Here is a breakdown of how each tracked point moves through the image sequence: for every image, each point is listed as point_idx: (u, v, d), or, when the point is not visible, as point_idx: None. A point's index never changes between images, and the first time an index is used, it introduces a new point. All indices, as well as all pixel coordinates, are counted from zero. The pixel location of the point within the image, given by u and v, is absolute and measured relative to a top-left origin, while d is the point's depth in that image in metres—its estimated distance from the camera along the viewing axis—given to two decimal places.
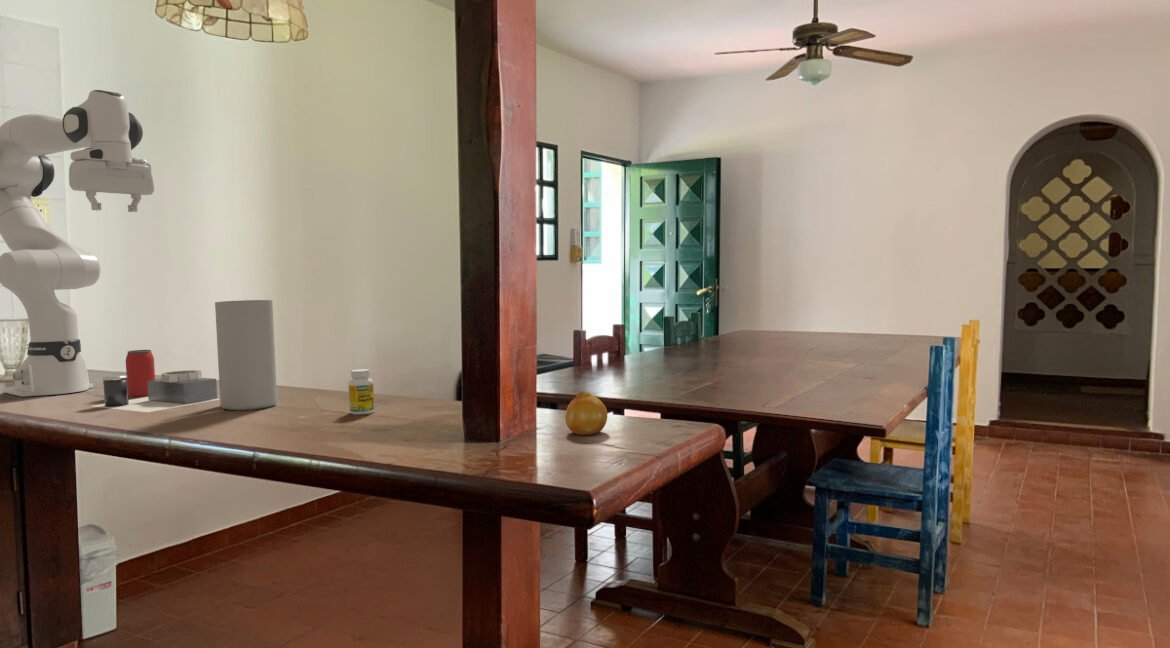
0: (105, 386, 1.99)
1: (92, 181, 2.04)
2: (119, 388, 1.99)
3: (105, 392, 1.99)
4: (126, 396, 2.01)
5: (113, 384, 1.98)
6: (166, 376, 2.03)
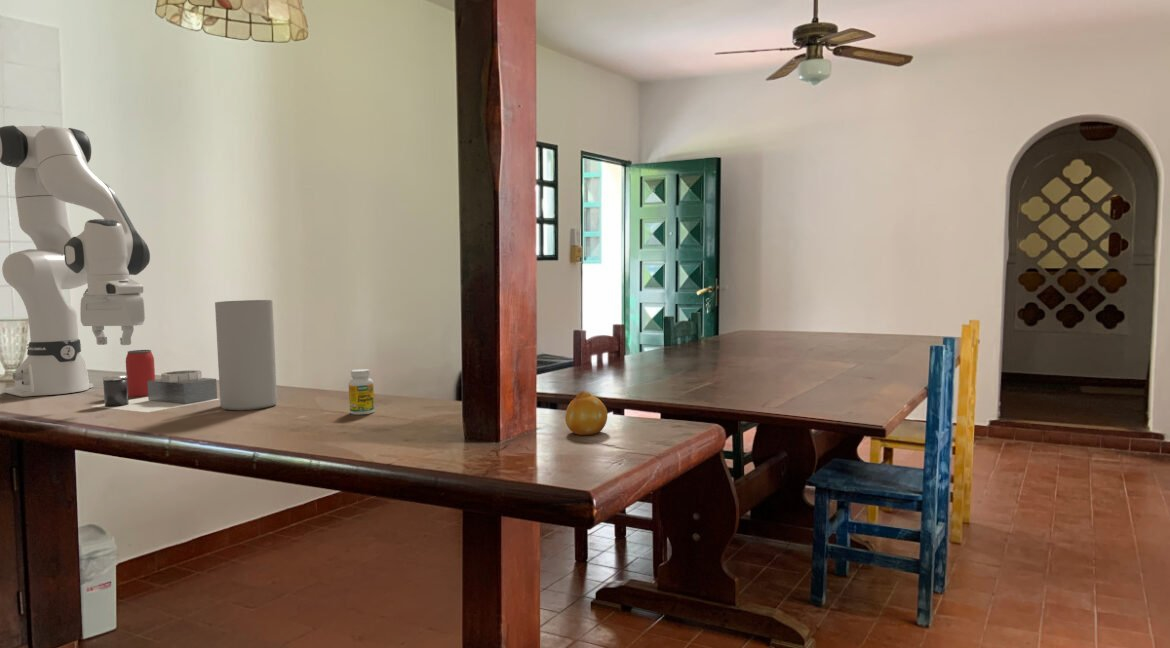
0: (105, 386, 1.99)
1: None
2: (119, 388, 1.99)
3: (105, 392, 1.99)
4: (126, 396, 2.01)
5: (113, 384, 1.98)
6: (166, 376, 2.03)
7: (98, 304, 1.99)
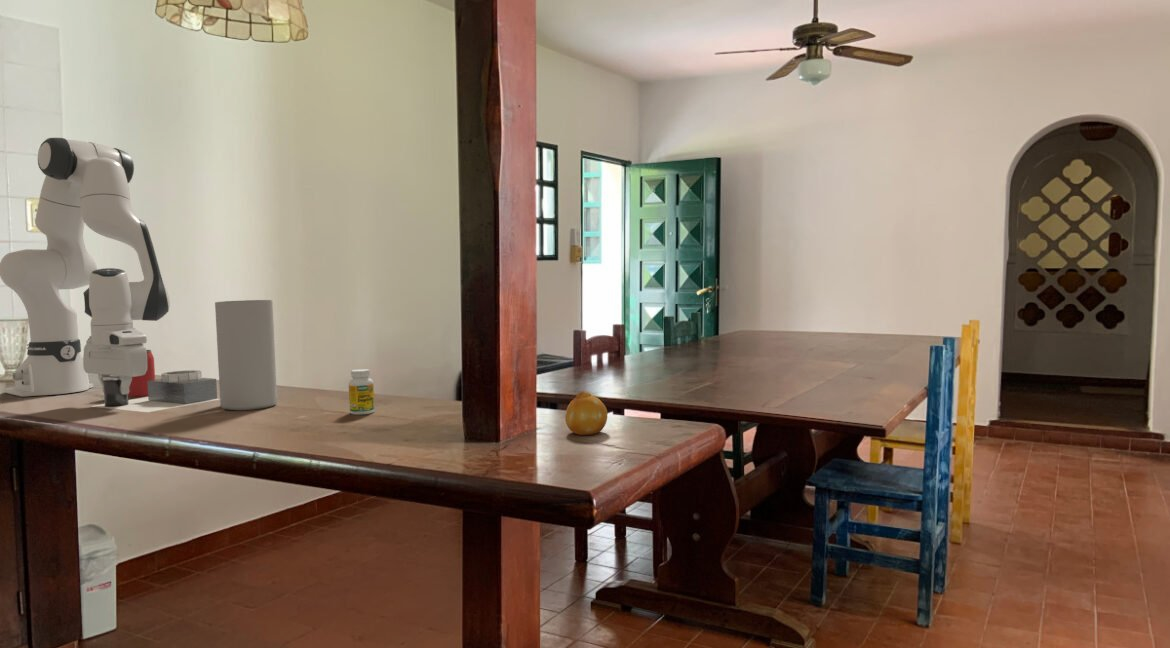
0: (105, 386, 1.99)
1: None
2: None
3: (105, 392, 1.99)
4: (126, 396, 2.01)
5: (113, 384, 1.98)
6: (166, 376, 2.03)
7: (101, 353, 2.00)
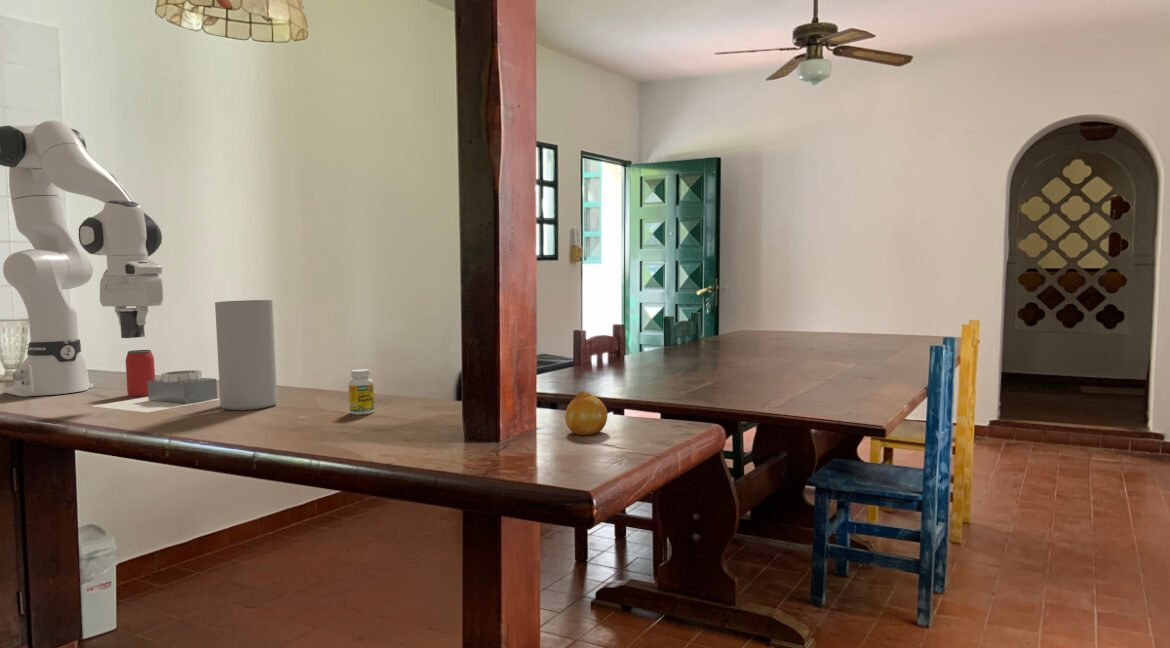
0: (121, 317, 1.99)
1: None
2: None
3: (121, 323, 1.99)
4: (142, 328, 2.01)
5: (129, 315, 1.99)
6: (166, 376, 2.03)
7: (117, 285, 2.01)
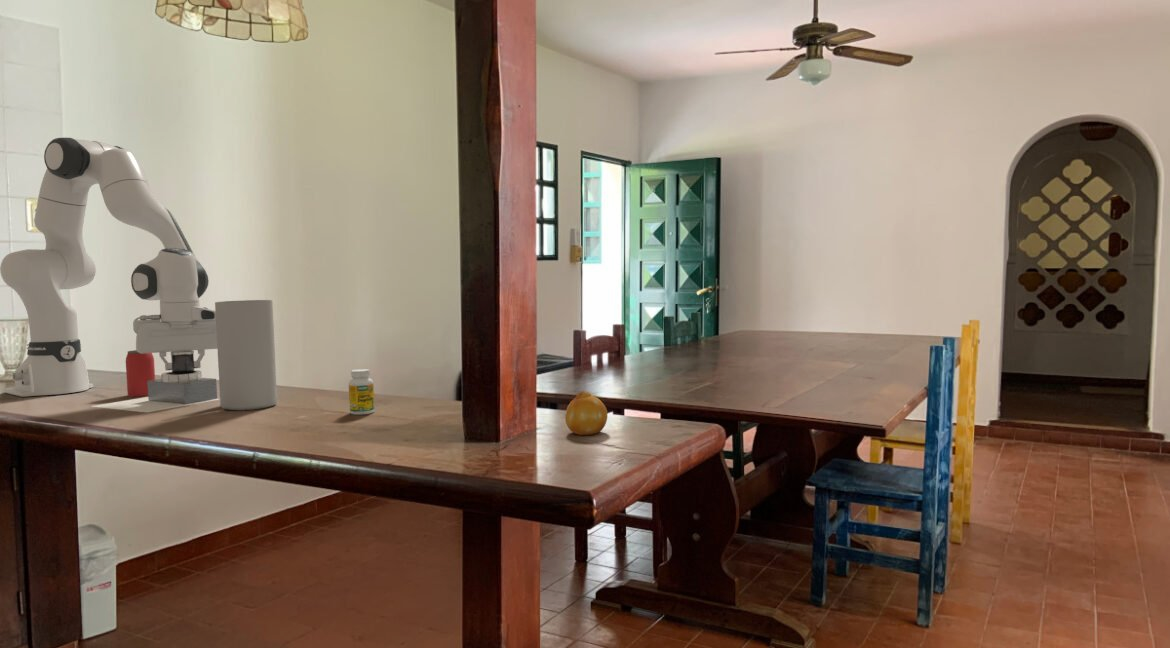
0: (180, 360, 2.05)
1: None
2: (193, 362, 2.08)
3: (180, 366, 2.05)
4: None
5: (189, 358, 2.06)
6: (166, 376, 2.03)
7: (171, 330, 2.05)
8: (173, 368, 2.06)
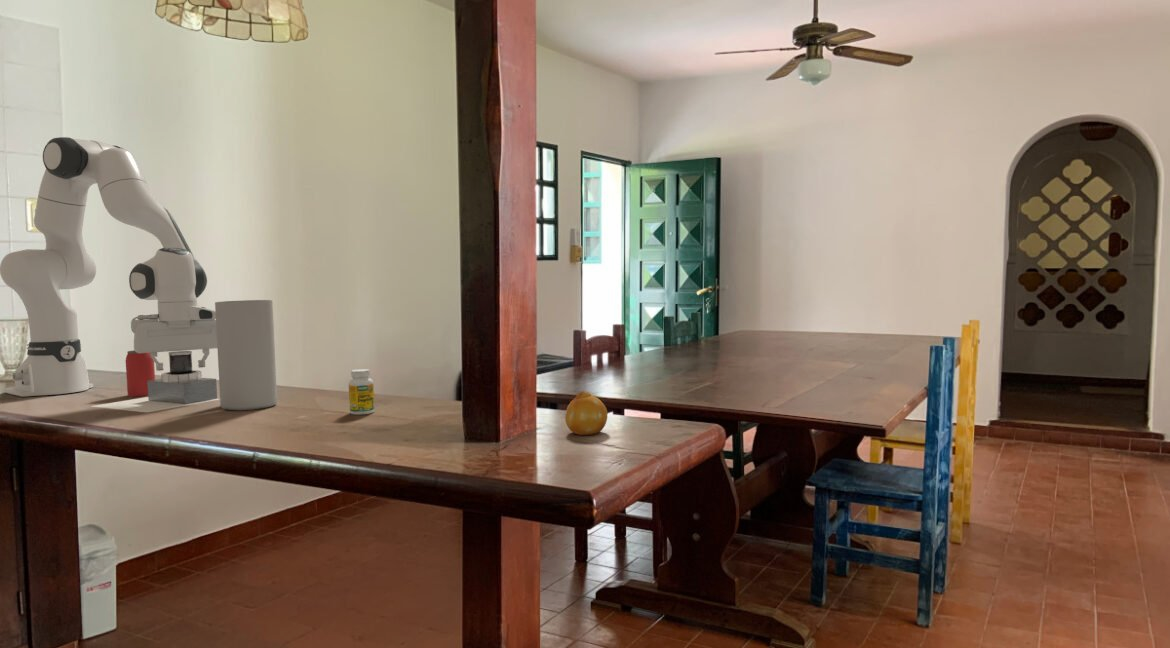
0: (178, 361, 2.05)
1: None
2: (191, 362, 2.07)
3: (178, 367, 2.05)
4: None
5: (187, 358, 2.06)
6: (166, 376, 2.03)
7: (169, 330, 2.04)
8: (171, 368, 2.05)
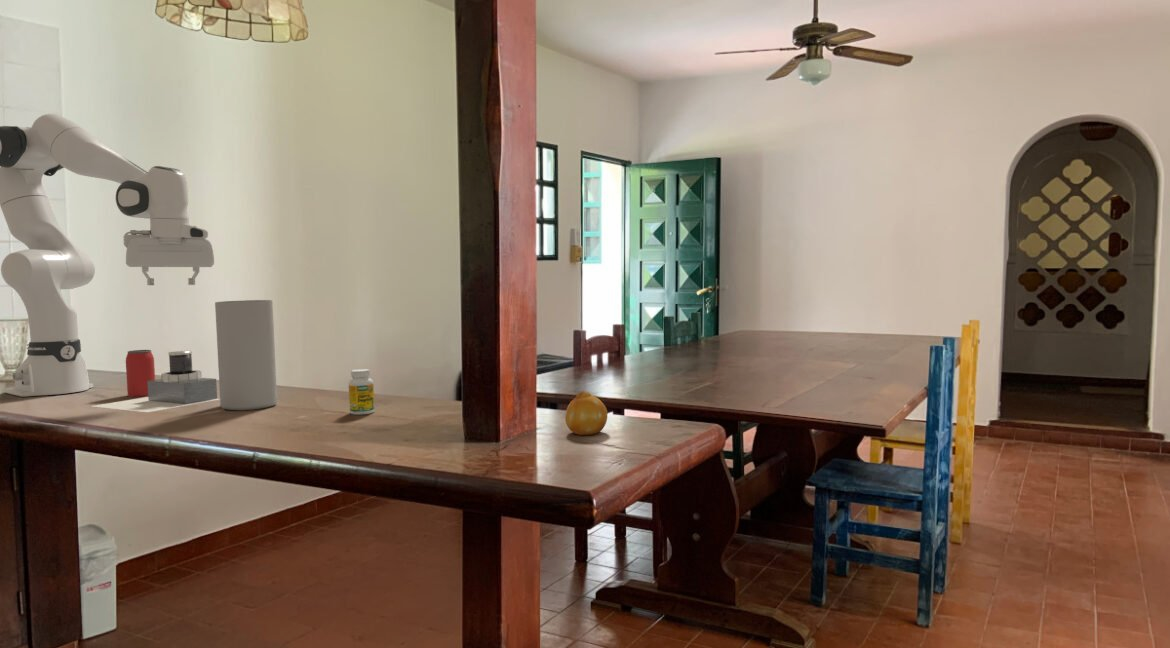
0: (178, 361, 2.05)
1: None
2: (191, 362, 2.07)
3: (178, 367, 2.05)
4: None
5: (187, 358, 2.06)
6: (166, 376, 2.03)
7: (160, 246, 2.10)
8: (171, 368, 2.05)
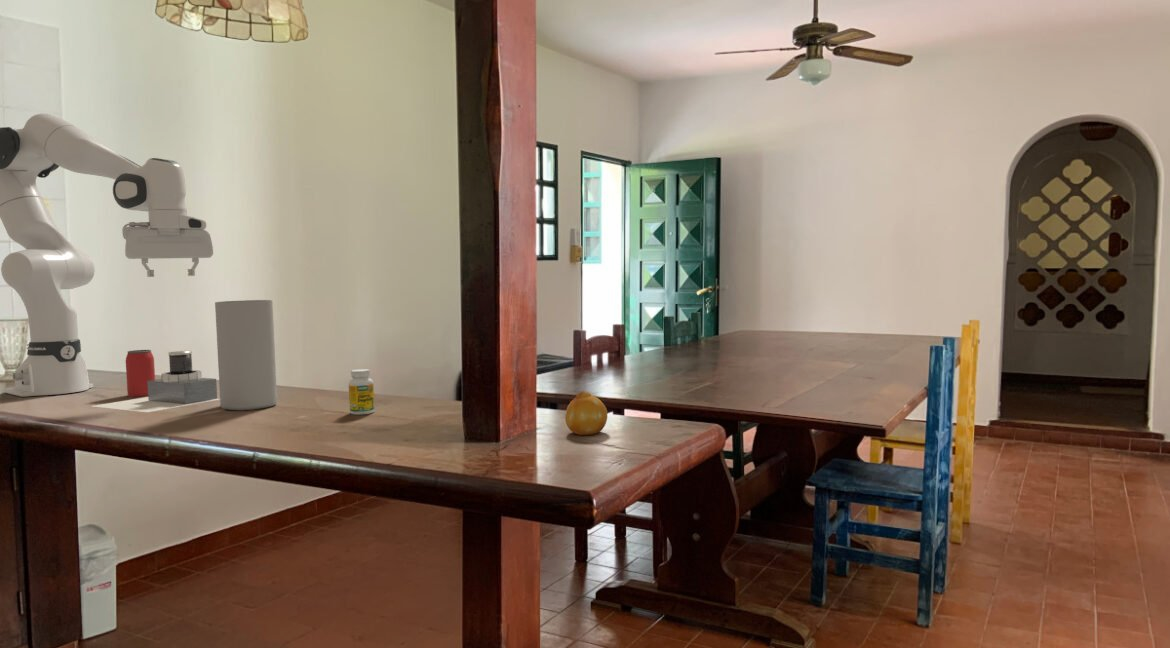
0: (178, 361, 2.05)
1: None
2: (191, 362, 2.07)
3: (178, 367, 2.05)
4: None
5: (187, 358, 2.06)
6: (166, 376, 2.03)
7: (159, 237, 2.11)
8: (171, 368, 2.05)
